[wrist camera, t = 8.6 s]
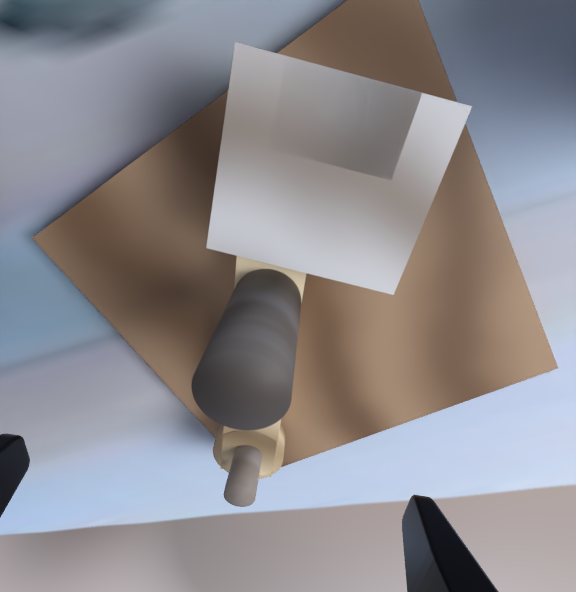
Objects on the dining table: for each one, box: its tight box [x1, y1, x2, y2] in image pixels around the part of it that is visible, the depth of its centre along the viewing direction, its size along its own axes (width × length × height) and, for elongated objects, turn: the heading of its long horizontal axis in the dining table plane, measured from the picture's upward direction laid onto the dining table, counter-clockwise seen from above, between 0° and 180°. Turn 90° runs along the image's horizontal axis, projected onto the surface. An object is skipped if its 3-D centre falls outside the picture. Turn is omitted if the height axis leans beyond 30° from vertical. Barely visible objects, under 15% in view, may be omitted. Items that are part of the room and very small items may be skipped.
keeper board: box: [32, 0, 558, 467], centre depth 17 cm, size 19×19×5 cm
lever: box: [191, 256, 307, 507], centre depth 16 cm, size 18×4×8 cm, turn 173°
